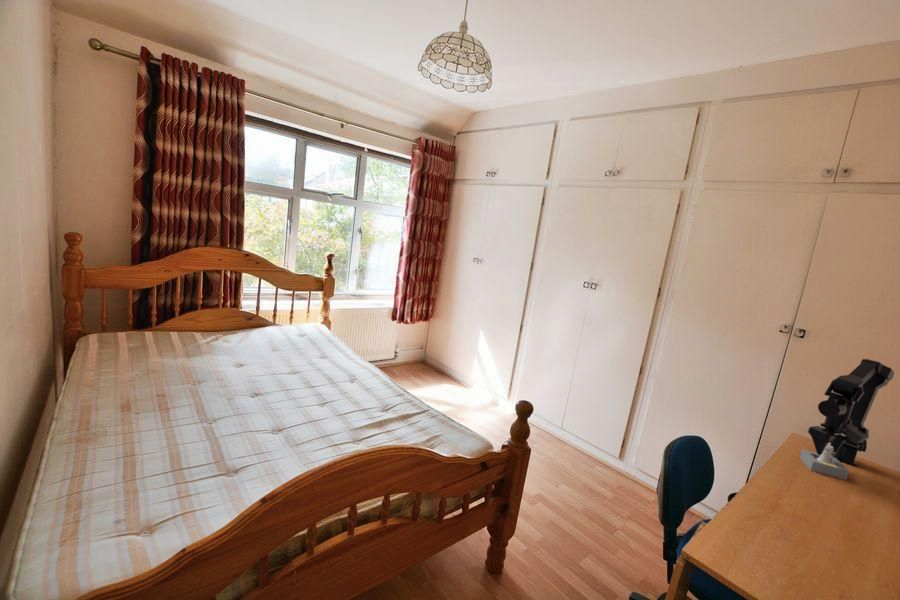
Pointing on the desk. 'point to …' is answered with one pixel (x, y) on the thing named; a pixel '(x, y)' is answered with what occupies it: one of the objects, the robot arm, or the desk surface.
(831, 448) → the rook chess piece
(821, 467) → the grey square tray
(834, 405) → the robot arm
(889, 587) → the desk surface
